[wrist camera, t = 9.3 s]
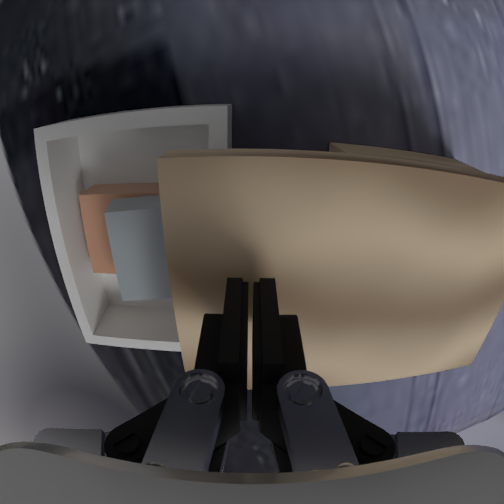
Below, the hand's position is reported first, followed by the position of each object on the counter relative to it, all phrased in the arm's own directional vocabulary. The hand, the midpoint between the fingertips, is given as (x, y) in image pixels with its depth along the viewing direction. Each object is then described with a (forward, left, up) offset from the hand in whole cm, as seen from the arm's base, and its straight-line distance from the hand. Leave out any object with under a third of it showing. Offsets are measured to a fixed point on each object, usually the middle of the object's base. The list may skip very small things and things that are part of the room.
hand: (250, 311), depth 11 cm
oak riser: (0, +5, -9) cm, 10 cm away
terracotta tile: (0, -7, -6) cm, 9 cm away
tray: (0, -6, -9) cm, 11 cm away
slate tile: (0, -4, -4) cm, 6 cm away
